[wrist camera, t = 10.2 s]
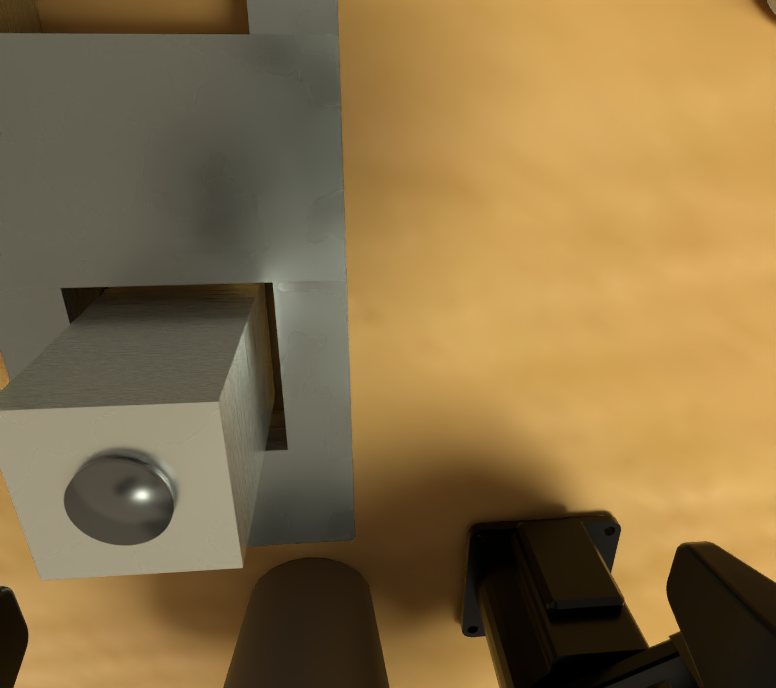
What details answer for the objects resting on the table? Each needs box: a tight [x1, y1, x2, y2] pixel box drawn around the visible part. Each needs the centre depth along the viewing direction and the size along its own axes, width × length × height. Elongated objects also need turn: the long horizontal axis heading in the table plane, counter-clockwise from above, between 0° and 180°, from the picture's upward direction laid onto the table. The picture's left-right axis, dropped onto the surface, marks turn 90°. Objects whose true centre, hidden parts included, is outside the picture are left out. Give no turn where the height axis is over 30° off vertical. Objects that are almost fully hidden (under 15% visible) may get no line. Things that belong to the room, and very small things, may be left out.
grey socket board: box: [0, 0, 355, 547], centre depth 16 cm, size 26×10×2 cm, turn 0°
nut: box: [0, 283, 275, 581], centre depth 16 cm, size 5×5×8 cm
